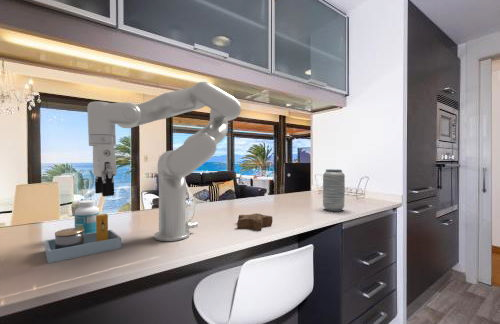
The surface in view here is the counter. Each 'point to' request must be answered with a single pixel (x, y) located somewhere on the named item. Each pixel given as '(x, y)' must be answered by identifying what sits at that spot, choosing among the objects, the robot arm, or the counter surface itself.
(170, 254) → the counter surface
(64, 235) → the tin
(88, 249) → the tote
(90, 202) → the pill bottle
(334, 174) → the vase
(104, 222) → the supplement box
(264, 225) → the decorative item
